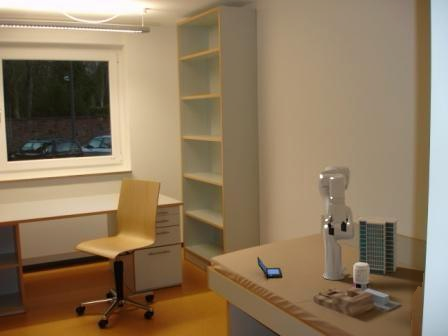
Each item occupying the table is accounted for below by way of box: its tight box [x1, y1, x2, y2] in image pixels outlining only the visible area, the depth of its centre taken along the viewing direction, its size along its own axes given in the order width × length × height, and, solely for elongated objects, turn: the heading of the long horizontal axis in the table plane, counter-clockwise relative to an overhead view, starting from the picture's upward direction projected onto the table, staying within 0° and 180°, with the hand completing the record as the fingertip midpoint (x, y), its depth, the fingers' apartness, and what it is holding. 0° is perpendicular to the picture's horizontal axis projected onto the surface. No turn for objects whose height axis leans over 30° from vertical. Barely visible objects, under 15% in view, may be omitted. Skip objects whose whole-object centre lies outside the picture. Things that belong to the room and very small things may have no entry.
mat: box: [374, 299, 402, 312], centre depth 239 cm, size 11×18×1 cm, turn 37°
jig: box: [313, 287, 375, 318], centre depth 238 cm, size 24×16×7 cm, turn 37°
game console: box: [256, 256, 282, 279], centre depth 288 cm, size 16×14×9 cm
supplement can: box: [352, 261, 371, 291], centre depth 254 cm, size 8×8×15 cm
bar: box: [364, 288, 390, 305], centre depth 239 cm, size 12×4×4 cm, turn 37°
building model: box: [358, 216, 398, 275], centre depth 287 cm, size 20×16×30 cm
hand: (337, 233), depth 247 cm, fingers open, 9 cm apart
